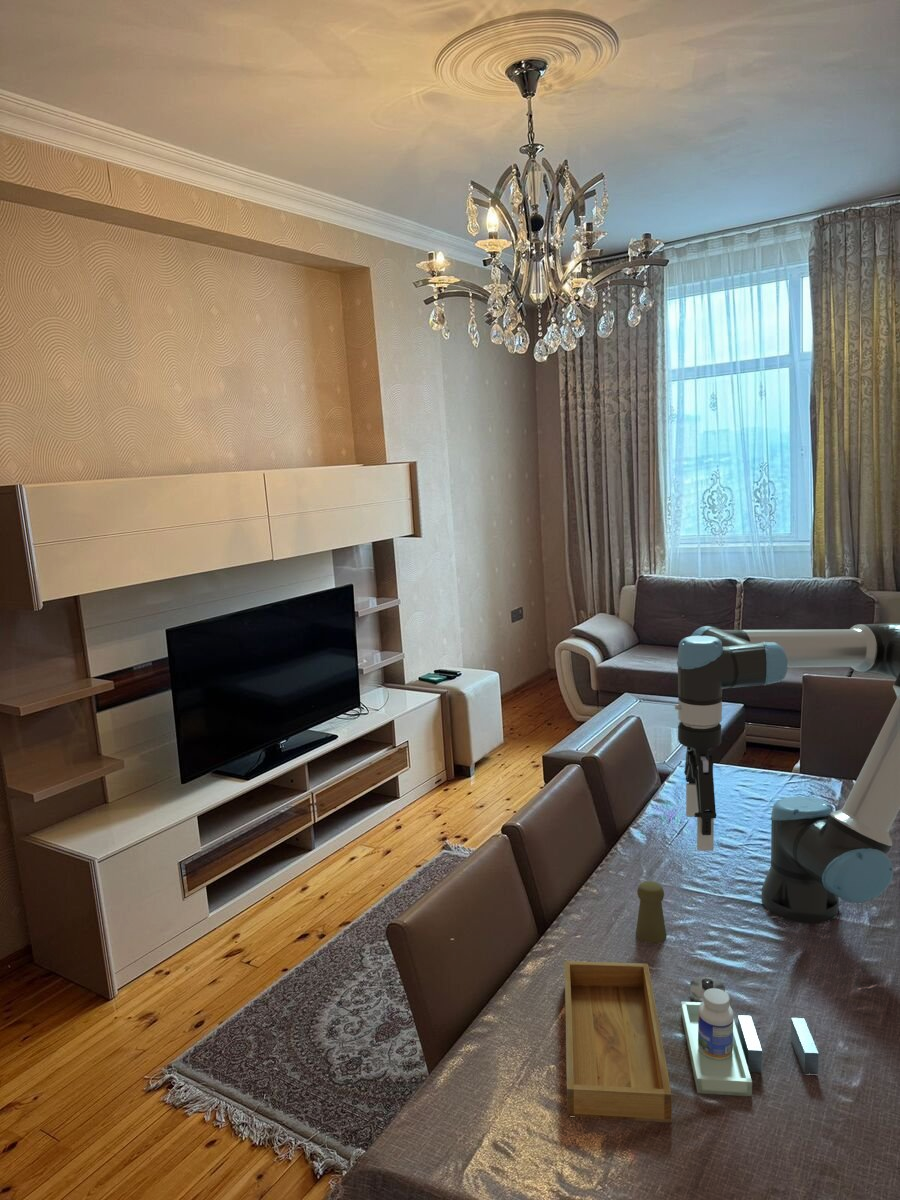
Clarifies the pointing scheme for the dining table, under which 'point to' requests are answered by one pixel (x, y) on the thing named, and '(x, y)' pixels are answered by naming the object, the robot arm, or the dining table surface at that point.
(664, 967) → the dining table surface
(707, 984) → the silver pot lid
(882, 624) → the robot arm
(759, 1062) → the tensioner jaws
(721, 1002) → the pill bottle
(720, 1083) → the tray
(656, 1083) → the tray
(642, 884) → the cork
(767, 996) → the dining table surface
